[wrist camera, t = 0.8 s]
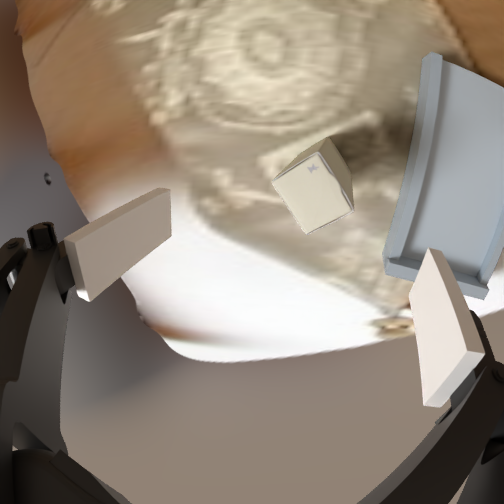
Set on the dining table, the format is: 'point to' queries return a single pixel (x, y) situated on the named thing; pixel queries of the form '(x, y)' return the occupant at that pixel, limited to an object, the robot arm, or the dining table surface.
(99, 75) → the dining table surface
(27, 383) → the robot arm
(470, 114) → the blue-grey tray
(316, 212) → the box
